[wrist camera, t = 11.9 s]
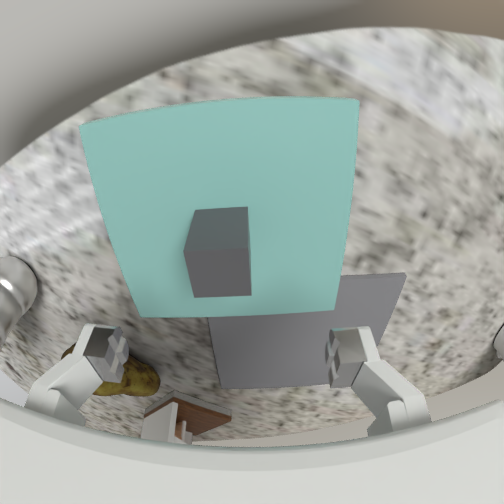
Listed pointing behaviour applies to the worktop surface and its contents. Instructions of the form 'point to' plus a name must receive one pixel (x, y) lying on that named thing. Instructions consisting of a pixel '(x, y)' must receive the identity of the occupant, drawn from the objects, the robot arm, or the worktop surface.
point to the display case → (181, 418)
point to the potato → (129, 379)
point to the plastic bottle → (14, 293)
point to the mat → (299, 335)
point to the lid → (228, 202)
